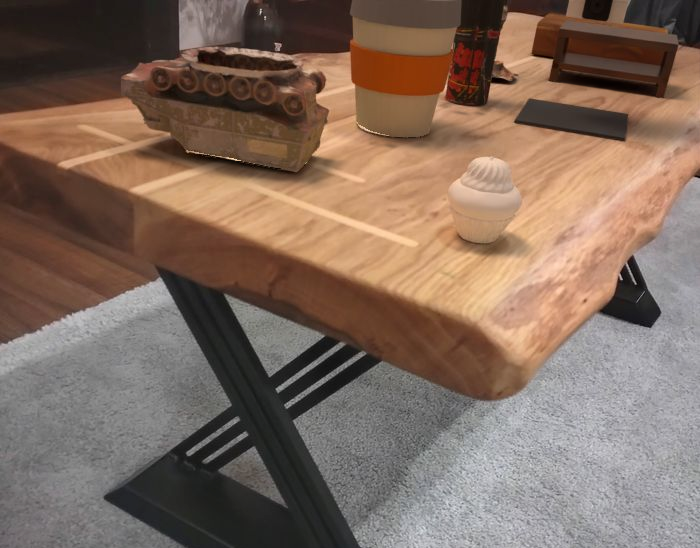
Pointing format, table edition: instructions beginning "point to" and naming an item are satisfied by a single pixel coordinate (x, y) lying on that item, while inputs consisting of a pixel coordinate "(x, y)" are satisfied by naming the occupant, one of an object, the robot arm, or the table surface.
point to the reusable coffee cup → (401, 62)
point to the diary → (553, 22)
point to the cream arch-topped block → (615, 16)
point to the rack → (614, 66)
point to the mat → (574, 119)
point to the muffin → (484, 200)
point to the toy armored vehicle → (233, 104)
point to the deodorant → (474, 52)
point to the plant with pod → (498, 67)
